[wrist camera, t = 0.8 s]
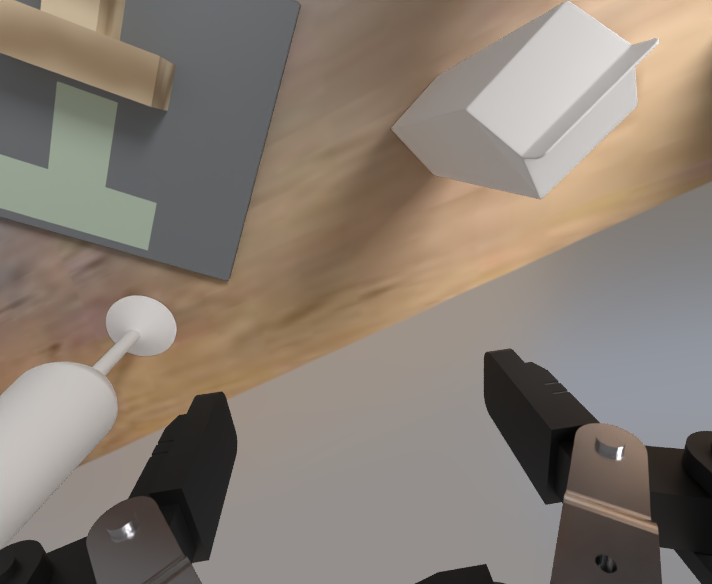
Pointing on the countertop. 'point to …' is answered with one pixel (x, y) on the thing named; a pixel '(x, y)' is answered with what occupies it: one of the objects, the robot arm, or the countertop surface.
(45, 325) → the countertop surface
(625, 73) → the milk
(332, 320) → the countertop surface
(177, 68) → the board
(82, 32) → the t block
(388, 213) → the countertop surface
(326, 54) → the countertop surface
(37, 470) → the champagne flute
